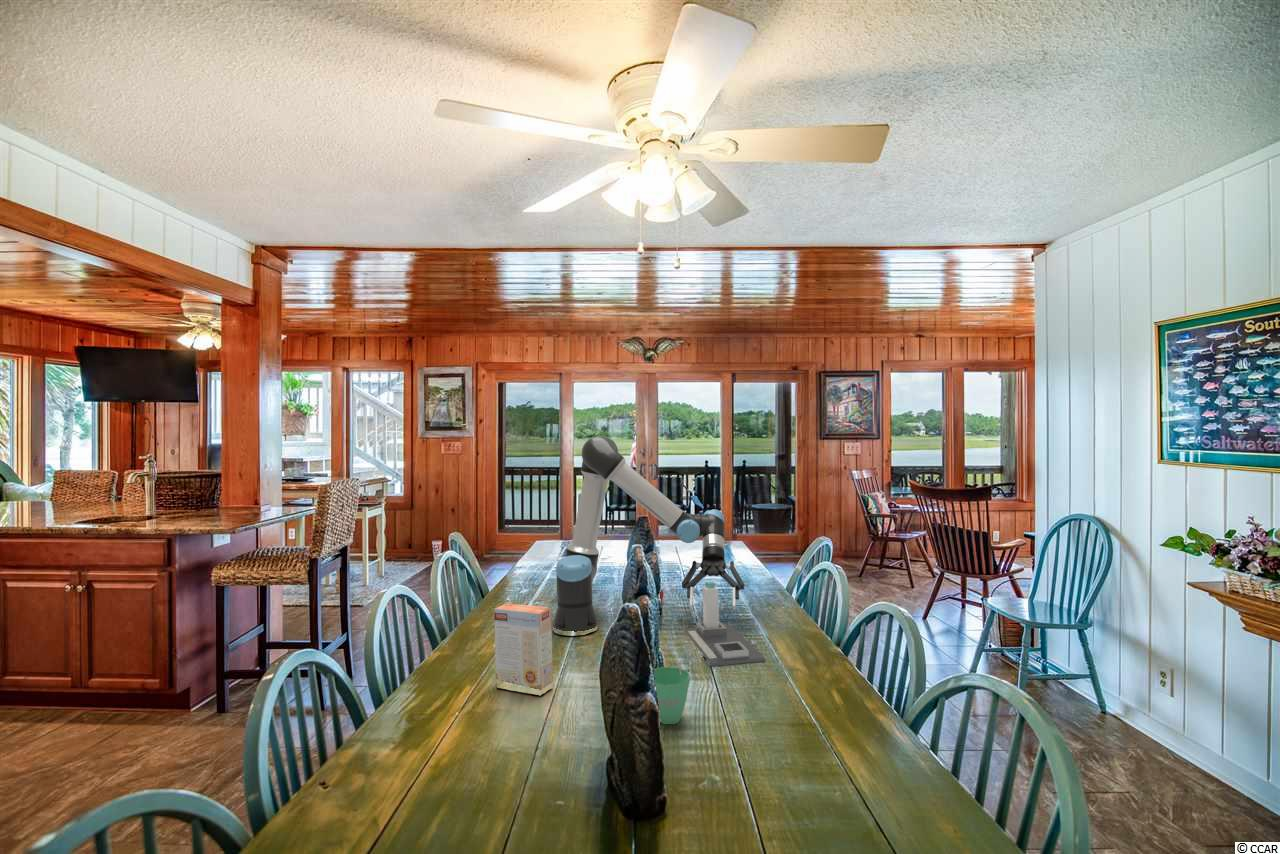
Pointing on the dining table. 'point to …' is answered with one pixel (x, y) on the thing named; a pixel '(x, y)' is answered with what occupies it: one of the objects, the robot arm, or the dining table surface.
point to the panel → (723, 645)
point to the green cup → (671, 693)
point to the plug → (710, 606)
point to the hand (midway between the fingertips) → (712, 607)
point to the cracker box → (523, 645)
